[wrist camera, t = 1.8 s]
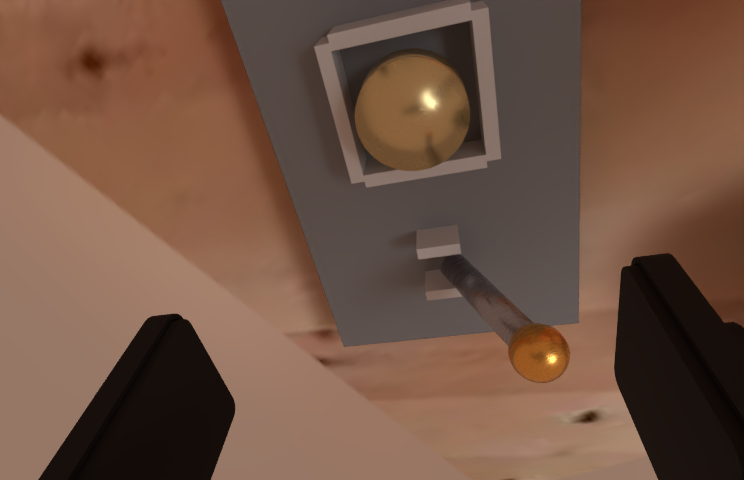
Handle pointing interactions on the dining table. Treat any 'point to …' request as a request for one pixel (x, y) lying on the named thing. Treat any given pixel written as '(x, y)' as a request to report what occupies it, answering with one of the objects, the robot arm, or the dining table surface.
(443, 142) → the brass button
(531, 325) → the lever
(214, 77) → the dining table surface
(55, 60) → the dining table surface
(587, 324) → the dining table surface
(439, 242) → the switch panel
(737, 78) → the dining table surface
